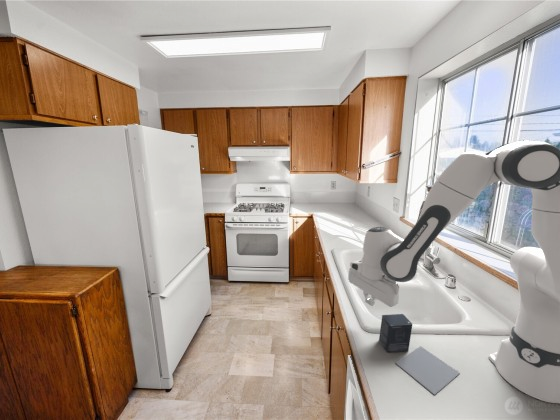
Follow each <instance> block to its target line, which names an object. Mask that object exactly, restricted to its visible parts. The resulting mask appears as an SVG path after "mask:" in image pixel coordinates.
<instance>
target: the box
mask: <svg viewBox="0 0 560 420" xmlns="http://www.w3.org/2000/svg"><path fill="white" fill-rule="evenodd" d="M412 329H413V323H412V322H411V320H409V319H408V318H407V317H406V315H405V314H404V313H400V314H399V313H396V314H395V313H394V314H393V313H392V314H382V315H381V323H380V331H379V338H378V342H380V344H381V346H382V347H383V349H384V350H385V352H386V353H396V352H397V353H398V352H409V348H410V343H411V336H412Z"/></svg>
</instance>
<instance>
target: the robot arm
mask: <svg viewBox="0 0 560 420" xmlns="http://www.w3.org/2000/svg"><path fill="white" fill-rule="evenodd" d="M496 182H503V183H505V184H508V185H514V186H516V187H520V188H525V189H530V191H531V195H532V201H531V202H532V203H531V222H530V223H531V227H530V230H531V231H530V232H531V235H532V237H533V239H534V241H535V242H536V243H537V244H538V246H539V247H535V246H523V247H521V248H519V249H517V250H516V251H514V252H513V253H512V255H511V256H510V260H509V265H510V267H511V269H512V271H513V273H514V275H515V278H516V282H517V288H518V297H519V306H518V311H517V316H516V319H515V320H516V321H515V324H514V326H513V327H512V328H511V330H510V332H509V337H508V338H505V339H502V340H501V341H500V344H499V347H498V350H497V351H495V352H493V353H490V354H489V355H488V359H489V360H490V361H491V363H492V364H493V365H495V367H496V370H497V371H498V373H499V374H500V376H501V377H502V378H503V379H504V380H506V382H507V383H509V384H510V385H511V386H513V387H514V388H515V389H517V390H519V391H521V392H522V393H525V394H526V395H527V396H529V397H532V398H534V399H537V400H540V401H542V402H546V403H553V404H560V148H558V147H557V146H555V145H553V144H551V143H548V142H544V141H533V140H532V141H531V140H530V141H529V140H524V141H523V140H522V141H521V140H520V141H516V142H509V143H505V144H502V145H500V146H498V147H496V148H494V149H492V150H490V151H488V152H486V153H481V152H477V151H466V152H464V153H461V154H459V156H457V157H456V158H455V159H454V160H452V162H450V164H449V165H448V166H447V167H446V168H445V169H444V170H443V171H442V173H440V175H439V176H438V178H437V179H436V180H435V182H434V184H433V185H432V186H431V188H430V190H429V192H428V193H427V195H426V198H425V200H424V203H423V205H422V209H421V211H420V215H419V217H418V218H417V220H416V223H415V224H414V225H413V227H412V228H411V230H410V231H408V232H409V233H407V235H406V236H405V237H404V238H402V237H401V236H399V235H398V234H396V233H394V232H393V231H392V229H390V228H388V227H385V226H375V227H372V228H369V229H368V230H367V231H366V232H365V236H364V240H363V247H362V253H363V256H362V257H361V259H358V260H357V259H356V260H353V261H351V262H350V263H349V267H350V268H349V271H348V277H347V279H348V282H349V283H350V284H352V285H353V286H355V287H357V288H358V289H360V290H361V291H363V296H364V302H365V303H366V304H367V305H369V306H370V307H373V306H374V305H375V303H376V301H377V300H378V301H380V302H381V303H382V304H384V305H386V306H387V307H390V308H392V307H395V306H396V305H398V304H399V300H400V298H399V297H400V296H399V295H400V293H399V292H400V285H399V284H398V283H406V282H409V281H411V280H413V279H414V278H415V276H416V274H417V270H418V264H419V262H420V259H421V258H422V256H423V255H424V253H425V252H427V250H428V248H429V247H430V246H431V244H432V243H434V241H435V240H436V238H437V237H438V236H439V235H440V234H441V232H442V231H444V230H445V229H446V228H447V227H448V226H450V225H451V223H453V222H454V221H455V220H456V219H457V218H458V217H459V216H460V215H462V214H464V212H465V211H466V210H468V208H469V207H471V206H472V204H473V203H474V202H475V201H476V200H477V199H478V197H479V196H480V195H481V193H482V192H483V190H485V189H486V188H487V187H488V186H490V185H492V184H494V183H496Z"/></svg>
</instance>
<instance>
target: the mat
mask: <svg viewBox="0 0 560 420" xmlns="http://www.w3.org/2000/svg"><path fill="white" fill-rule="evenodd" d="M395 364H396V365H397V366H398V367H400V368H401V369H402V370H403V371H404V372H405V373H406V374H408V375H409V376H410V377H412V379H414V380H415V381H416V382H418V383H419V384H420V385H421V386H423V387H424V388H425V389H426V390H427V391H429V392H430V393H431V394H432V395H434V396H436V394H438V393H439V392H440V391H442V390H443V389H444V388H445V387H446V386H447V385H449V383H451V382H452V381H453V380H455V378H457V376H459V375H460V374H461V372H459V371H458V370H456V369H455V368H453V367H452V366H451V365H449V364H448V363H446V362H444V361H443V360H442V359H441V358H439V357H438V356H436V355H434V354H433V353H432V352H430V351H428V350H427V349H425V348H424V347H423V346H419V347H418V348H416V349H414V350H413V351H411V352H410V353H407V354H406V355H405V356H403V357H402V358H399V360H397V361H395Z"/></svg>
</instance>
